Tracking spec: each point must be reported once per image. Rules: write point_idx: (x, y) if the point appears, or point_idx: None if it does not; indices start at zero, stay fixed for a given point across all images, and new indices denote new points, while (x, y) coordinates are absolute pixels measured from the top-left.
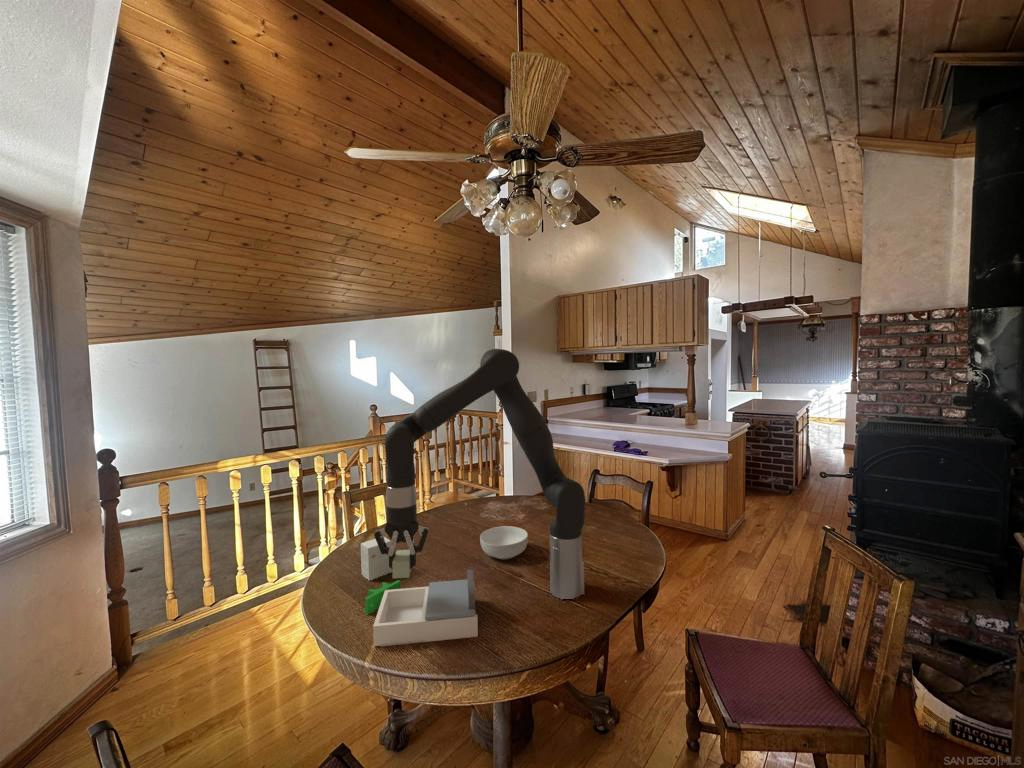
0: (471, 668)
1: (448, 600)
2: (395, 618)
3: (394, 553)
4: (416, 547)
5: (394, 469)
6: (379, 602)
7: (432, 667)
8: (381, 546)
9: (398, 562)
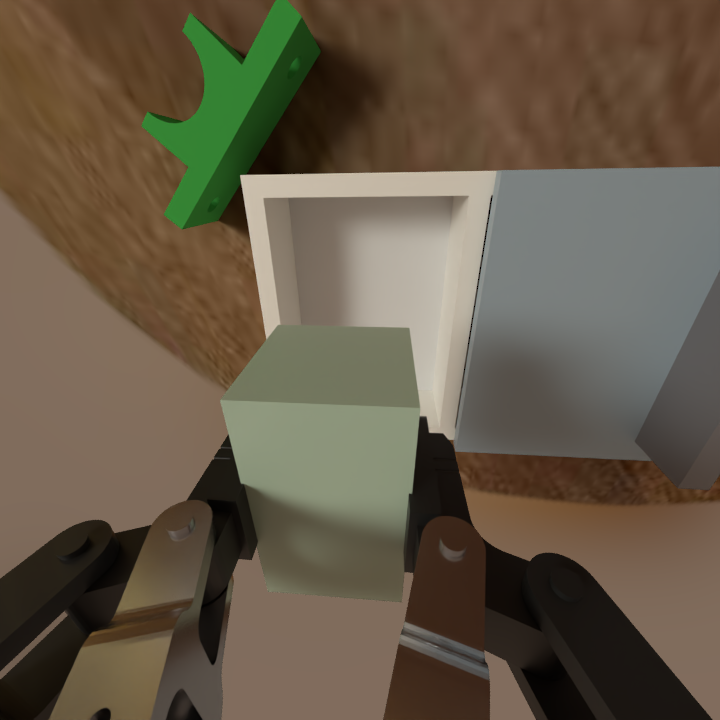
0: (546, 493)
1: (569, 373)
2: (333, 278)
3: (233, 516)
4: (497, 650)
5: None
6: (236, 172)
7: None
8: (43, 698)
9: (317, 593)
